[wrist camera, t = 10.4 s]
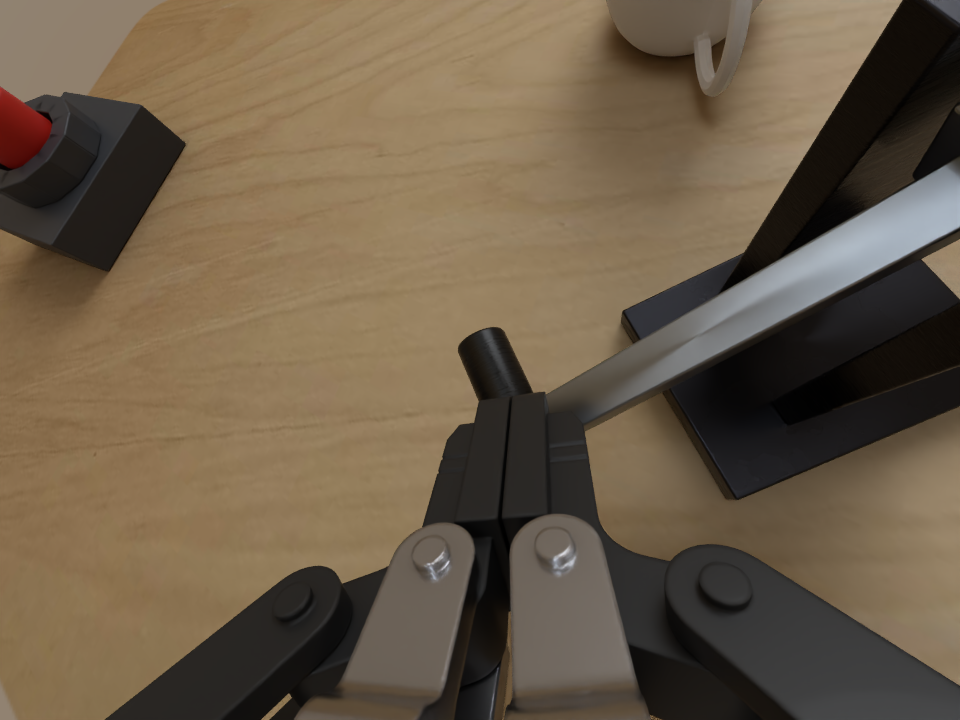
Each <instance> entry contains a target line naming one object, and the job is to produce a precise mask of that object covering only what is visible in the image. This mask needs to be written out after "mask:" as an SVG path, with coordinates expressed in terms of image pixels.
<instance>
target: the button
mask: <svg viewBox="0 0 960 720" xmlns="http://www.w3.org/2000/svg"><path fill="white" fill-rule="evenodd" d="M51 128H52V123H51V122H50V121H49V120H48V119H46V118H45V117H44V116H42V115H41V114H39V113H38V112H36V111H35V110H33V109H32V108H31V107H29V106H28V105H26V104H25V103H23V102H22V101H20V100H19V99H17V98H16V97H14V96H13V95H12V94H10V93H9V92H7V91H6V90H4V89H3V88H2V87H0V164H2V165H4V166H6V167H8V168H10V169H16V168H19V167H21V166H23V165H24V164H26V163H27V162H28V161H29V160H30V159H32V158H33V157H34V156H35V155H37V154H38V153H39V151H40V150H41V149H42V147H43V146H44V144H45V143H46V141H47V140H48V138H49V136H50V132H51Z"/></svg>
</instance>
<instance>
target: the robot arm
mask: <svg viewBox="0 0 960 720" xmlns="http://www.w3.org/2000/svg"><path fill="white" fill-rule="evenodd" d="M442 457H443V460H441V463H440V467H439V470H438V471H439V474H437V477H436V481H435V484H434V488H433V491H432V495H431V498H430V502H429V505H428V508H427V512H426V515H425V519H424V522H423V526H422V528H420V529H418V530H416V531H415V532H413V533H412V534H410V535H409V536H408V537H407V538H406V539H405V540H404V541H403V542H402V543H401V544H400V545H399V547H398V548H397V550H396V551H395V553H394V555H393V557H392V559H391V562H390V564H389V566H388V567H386V568H384V569H381V570H379V571H376V572H374V573H371V574H368V575H365V576H363V577H360V578H357V579H354V580H351V581H349V582H346V583H343V584H342V583H341V581H340V579H339V577H338V576H337V574H336V573H335V572H334V571H333V570H332V569H330V568H328V567H324V566H312V567H307V568H304V569H301V570H298V571H296V572H294V573H292V574H290V575H289V576H287V577H285V578H284V579H283V580H281V581H280V582H279V583H277V584H276V585H275V586H273V587H272V588H271V589H270V590H268V591H267V592H266V593H265V594H263V595H262V596H261V597H260V598H258V599H257V600H256V601H254V602H253V603H252V604H251V605H249V606H248V607H247V608H246V609H244V610H243V611H242V612H241V613H239V614H238V615H237V616H235V617H234V618H233V619H232V620H230V621H229V622H228V623H227V624H225V625H224V626H223V627H222V628H220V629H219V630H218V631H216V632H215V633H214V634H213V635H211V636H210V637H209V638H208V639H206V640H205V641H204V642H203V643H201V644H200V645H199V646H197V647H196V648H195V649H194V650H192V651H191V652H190V653H189V654H187V655H186V656H185V657H184V658H182V659H181V660H180V661H178V662H177V663H176V664H175V665H173V666H172V667H171V668H170V669H168V670H167V671H166V672H165V673H163V674H162V675H161V676H159V677H158V678H157V679H156V680H154V681H153V682H152V683H151V684H149V685H148V686H147V687H146V688H144V689H143V690H142V691H140V692H139V693H138V694H137V695H135V696H134V697H133V698H132V699H130V700H129V701H128V702H127V703H125V704H124V705H123V706H121V707H120V708H119V709H118V710H116V711H115V712H114V713H113V714H111V715H110V716H109V717H108V718H106V719H105V720H261V719H262V718H263V717H264V716H265V715H266V714H267V713H268V712H269V711H270V710H271V709H272V708H274V707H275V706H276V705H277V704H278V703H279V702H280V701H281V700H282V699H283V698H284V697H285V696H286V695H287V694H288V693H289V694H290V695H291V697H292V699H290V700H289V701H288V702H287V703H286V704H285V705H284V706H283V707H282V708H281V709H280V710H279V711H278V712H277V713H276V714H275V715H274V716H273V717H272V718H271V719H270V720H502V719H503V711H504V702H505V694H506V686H507V677H508V669H509V659H510V653H509V646H508V643H507V631H508V614H509V611H511V639H512V685H513V687H512V700H511V703H510V704H509V705H507V707H506V711H505V716H504V720H651V718H650V715H653V716H655V717H658V718H660V719H663V720H960V686H959V685H957V684H956V683H954V682H953V681H951V680H950V679H948V678H946V677H945V676H943V675H942V674H940V673H938V672H937V671H935V670H934V669H932V668H930V667H929V666H927V665H926V664H924V663H923V662H921V661H919V660H918V659H916V658H915V657H913V656H911V655H910V654H908V653H907V652H905V651H903V650H902V649H900V648H899V647H897V646H896V645H894V644H892V643H891V642H889V641H888V640H886V639H884V638H883V637H881V636H880V635H878V634H876V633H875V632H873V631H872V630H870V629H868V628H867V627H865V626H864V625H862V624H861V623H859V622H857V621H856V620H854V619H853V618H851V617H849V616H848V615H846V614H845V613H843V612H841V611H840V610H838V609H837V608H835V607H834V606H832V605H830V604H829V603H827V602H826V601H824V600H822V599H821V598H819V597H818V596H816V595H814V594H813V593H811V592H810V591H808V590H806V589H805V588H803V587H802V586H800V585H799V584H797V583H795V582H794V581H792V580H791V579H789V578H787V577H786V576H784V575H783V574H781V573H779V572H778V571H776V570H775V569H773V568H772V567H770V566H768V565H767V564H765V563H764V562H762V561H760V560H759V559H757V558H755V557H754V556H752V555H750V554H748V553H746V552H743V551H741V550H738V549H735V548H732V547H728V546H723V545H714V544H705V545H697V546H693V547H690V548H687V549H685V550H683V551H681V552H680V553H678V554H677V555H676V556H675V557H674V558H673V559H672V560H671V561H666V560H661V559H657V558H652V557H648V556H644V555H640V554H637V553H634V552H632V551H630V550H627V549H625V548H624V547H622V546H620V545H619V544H617V543H616V542H615V541H613V540H612V539H611V538H610V537H609V536H608V535H607V534H606V532H605V531H604V529H603V528H602V526H601V524H600V522H599V518H598V514H597V507H596V501H595V495H594V488H593V482H592V476H591V470H590V463H589V457H588V451H587V444H586V438H585V432H584V426H583V423H582V422H581V421H580V420H579V419H578V418H577V416H576V415H575V414H574V413H573V412H572V411H565V412H557V413H549V408H548V403H547V398H546V394H545V392H538V393H531V394H523V395H516V396H513V397H511V396H509V397H502V398H495V399H487V400H480V401H479V403H478V408H477V412H476V417H475V422H474V423H470V424H462V425H459V426H458V428H457V429H456V430H455V431H454V432H453V434H452V435H451V436H450V437H449V438H448V440H447V442H446V446H445V449H444V453H443V456H442ZM649 714H650V715H649Z"/></svg>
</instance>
